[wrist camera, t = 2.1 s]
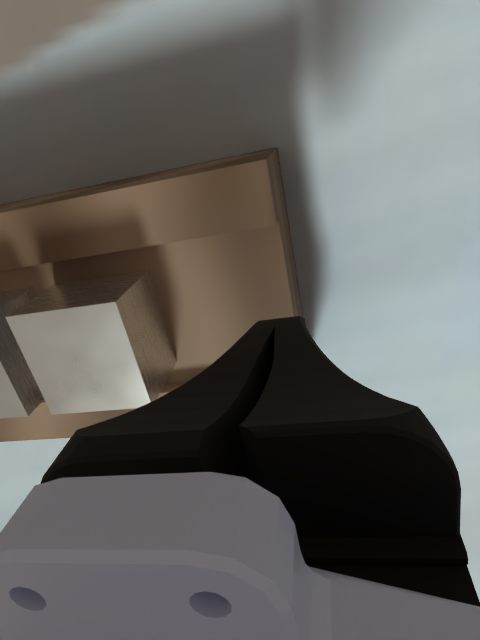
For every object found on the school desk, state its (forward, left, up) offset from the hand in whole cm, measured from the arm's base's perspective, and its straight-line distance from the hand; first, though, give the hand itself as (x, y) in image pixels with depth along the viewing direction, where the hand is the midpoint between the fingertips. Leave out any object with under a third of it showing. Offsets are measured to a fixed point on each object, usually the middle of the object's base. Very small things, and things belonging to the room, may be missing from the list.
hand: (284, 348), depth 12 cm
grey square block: (+7, 0, -4) cm, 8 cm away
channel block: (+7, 0, -7) cm, 11 cm away
